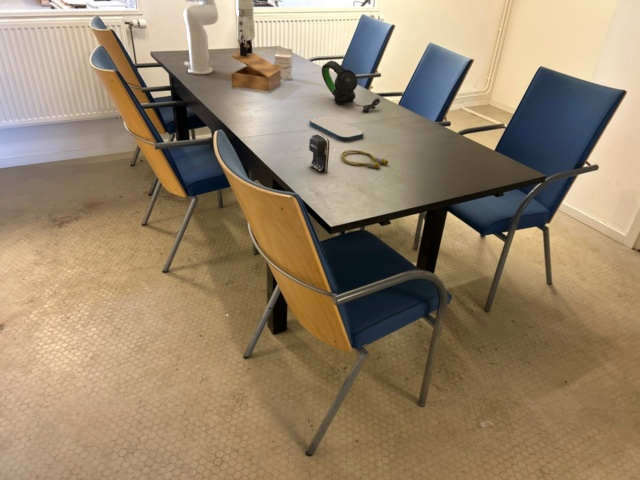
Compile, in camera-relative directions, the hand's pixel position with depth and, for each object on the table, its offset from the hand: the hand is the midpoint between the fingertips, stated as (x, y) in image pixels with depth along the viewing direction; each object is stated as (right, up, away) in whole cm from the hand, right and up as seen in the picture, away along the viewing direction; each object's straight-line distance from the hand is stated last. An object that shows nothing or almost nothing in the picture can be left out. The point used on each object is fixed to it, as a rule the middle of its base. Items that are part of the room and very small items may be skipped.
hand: (246, 54), depth 232 cm
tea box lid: (+5, -4, +1) cm, 6 cm away
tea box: (+4, -13, +7) cm, 15 cm away
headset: (+47, -27, -11) cm, 55 cm away
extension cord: (+49, -61, -64) cm, 101 cm away
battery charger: (+34, -65, -72) cm, 103 cm away
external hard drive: (+41, -45, -40) cm, 73 cm away
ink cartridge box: (+16, -5, +21) cm, 27 cm away
